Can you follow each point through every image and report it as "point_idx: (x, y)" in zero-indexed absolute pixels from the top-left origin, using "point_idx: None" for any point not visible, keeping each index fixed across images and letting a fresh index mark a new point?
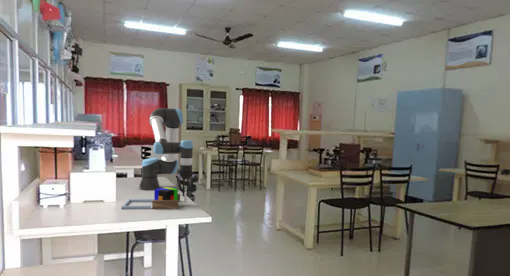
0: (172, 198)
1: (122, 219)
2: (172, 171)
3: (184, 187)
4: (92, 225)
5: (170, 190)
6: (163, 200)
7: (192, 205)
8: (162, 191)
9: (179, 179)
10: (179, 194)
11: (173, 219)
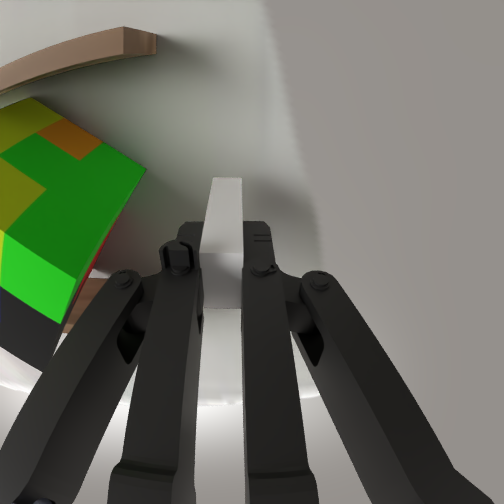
0: (90, 266)
1: (36, 376)
2: None
3: (199, 363)
4: (17, 389)
5: (42, 341)
6: (64, 332)
7: (299, 210)
8: (2, 342)
9: (66, 479)
10: (118, 54)
11: (198, 404)
